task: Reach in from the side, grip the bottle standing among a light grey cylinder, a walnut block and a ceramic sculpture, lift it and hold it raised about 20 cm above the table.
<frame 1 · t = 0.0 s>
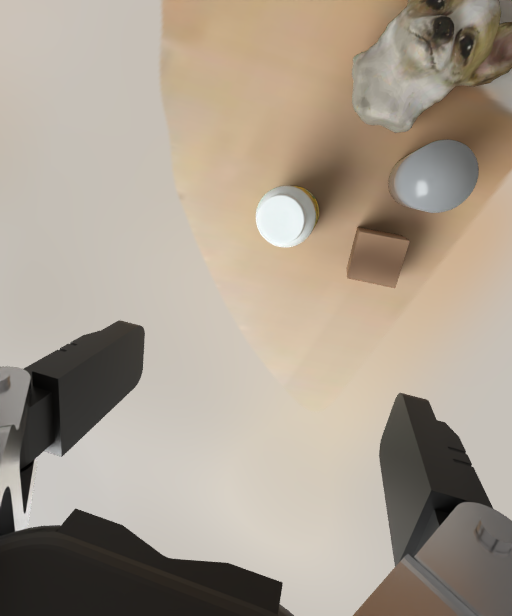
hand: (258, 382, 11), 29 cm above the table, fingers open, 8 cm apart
walnut block: (373, 252, 37), on the table
light grey cylinder: (415, 180, 34), on the table
ceramic sculpture: (422, 63, 31), on the table
supplement bottle: (294, 212, 38), on the table
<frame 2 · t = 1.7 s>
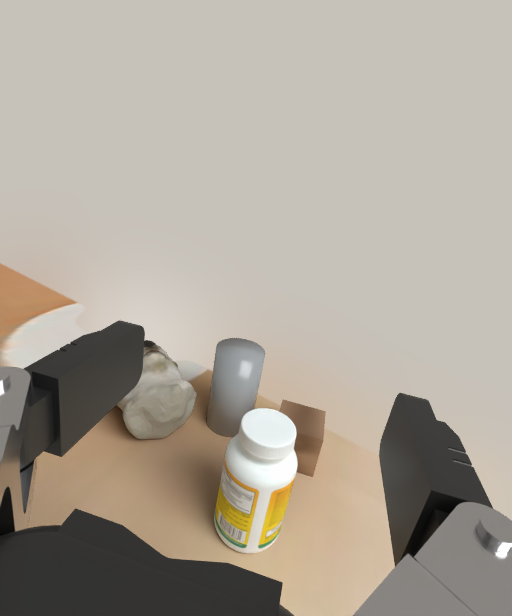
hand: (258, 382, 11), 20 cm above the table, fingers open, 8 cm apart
walnut block: (292, 454, 36), on the table
light grey cylinder: (229, 420, 39), on the table
ceramic sculpture: (141, 409, 39), on the table
supplement bottle: (246, 524, 28), on the table
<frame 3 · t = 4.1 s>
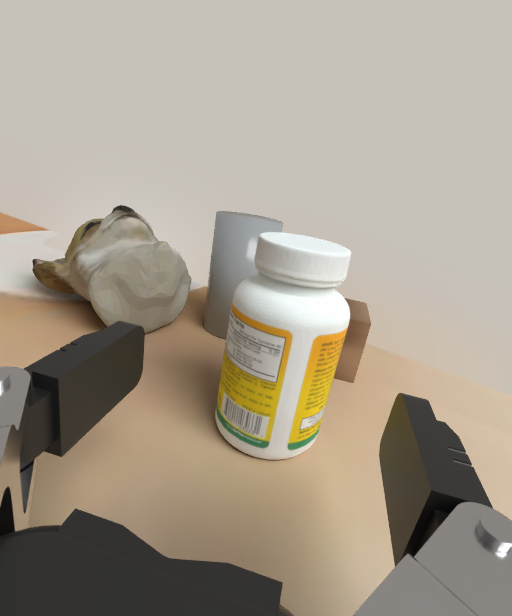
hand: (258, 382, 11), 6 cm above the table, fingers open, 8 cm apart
walnut block: (321, 361, 26), on the table
light grey cylinder: (233, 327, 29), on the table
ceramic sculpture: (118, 311, 29), on the table
supplement bottle: (265, 427, 18), on the table
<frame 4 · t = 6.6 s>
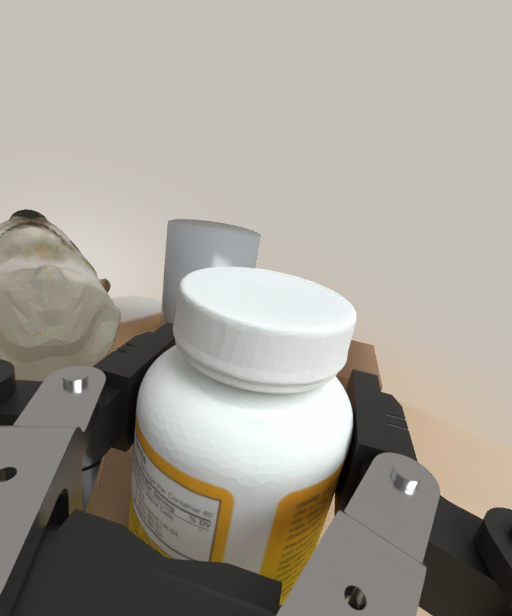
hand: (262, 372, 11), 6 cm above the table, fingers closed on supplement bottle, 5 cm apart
walnut block: (312, 425, 19), on the table
light grey cylinder: (198, 371, 22), on the table
ceramic sculpture: (35, 348, 22), on the table
supplement bottle: (214, 577, 11), on the table, touching gripper
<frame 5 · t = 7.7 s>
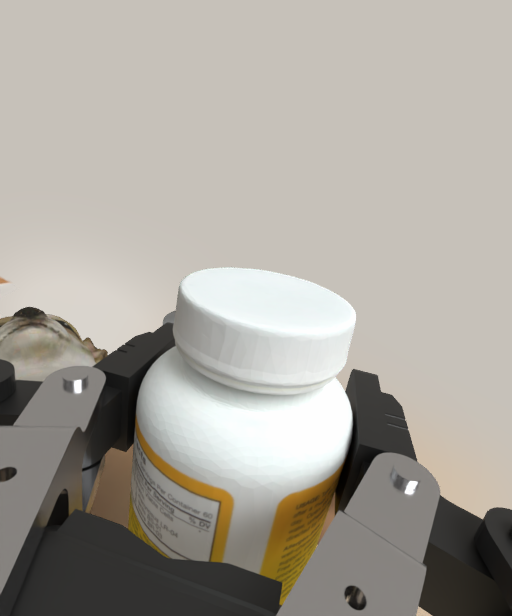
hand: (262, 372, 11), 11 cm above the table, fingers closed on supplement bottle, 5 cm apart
ceramic sculpture: (37, 425, 24), on the table
supplement bottle: (213, 578, 11), point 5 cm above the table, touching gripper
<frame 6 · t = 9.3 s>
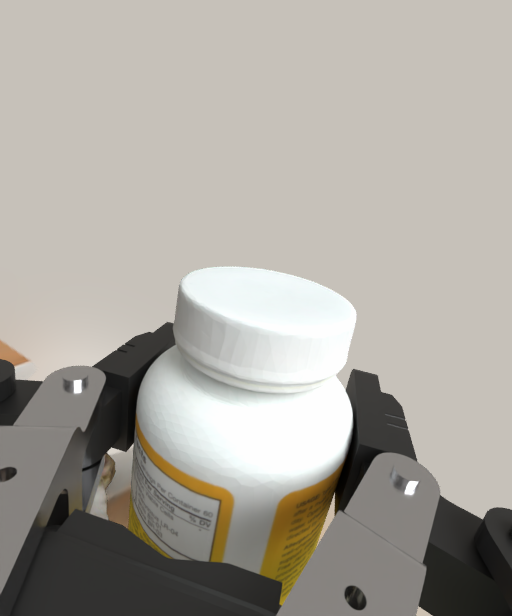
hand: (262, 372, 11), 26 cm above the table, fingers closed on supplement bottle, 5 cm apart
ceramic sculpture: (59, 533, 31), on the table
supplement bottle: (214, 577, 11), point 20 cm above the table, touching gripper
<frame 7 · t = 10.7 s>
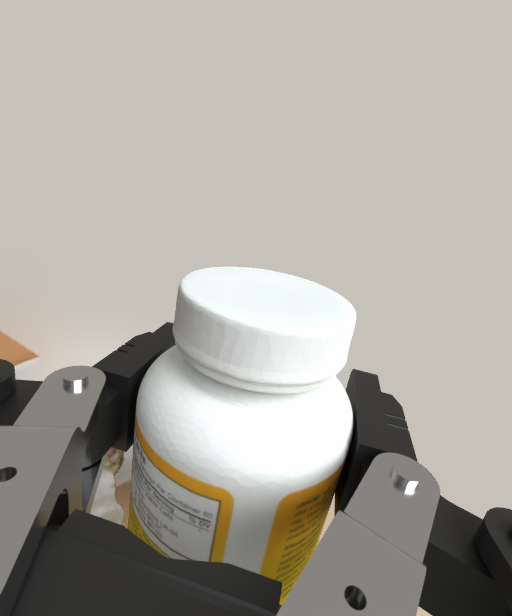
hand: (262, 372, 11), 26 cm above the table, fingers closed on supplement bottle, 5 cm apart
ceramic sculpture: (70, 515, 33), on the table
supplement bottle: (213, 578, 11), point 19 cm above the table, touching gripper
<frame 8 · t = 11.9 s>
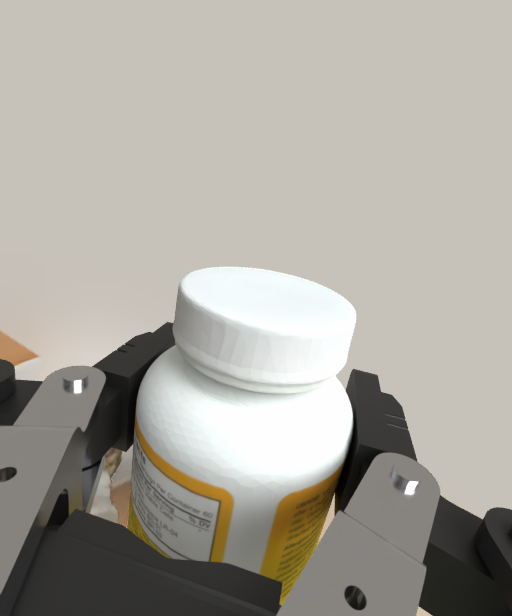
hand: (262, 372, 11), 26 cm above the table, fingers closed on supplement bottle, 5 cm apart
ceramic sculpture: (67, 515, 33), on the table
supplement bottle: (213, 578, 11), point 19 cm above the table, touching gripper
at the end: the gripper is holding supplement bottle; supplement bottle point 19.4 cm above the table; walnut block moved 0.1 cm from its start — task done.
